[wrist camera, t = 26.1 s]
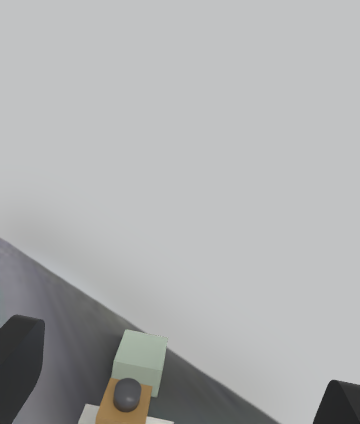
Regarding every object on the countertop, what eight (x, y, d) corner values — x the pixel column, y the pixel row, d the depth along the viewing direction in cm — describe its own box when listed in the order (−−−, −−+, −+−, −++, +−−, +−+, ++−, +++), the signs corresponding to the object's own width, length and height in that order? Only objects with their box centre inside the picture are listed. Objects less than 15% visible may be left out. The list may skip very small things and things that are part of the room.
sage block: (163, 362, 52) (168, 337, 51) (156, 398, 45) (162, 370, 44) (122, 354, 52) (125, 329, 51) (109, 388, 45) (113, 360, 44)
